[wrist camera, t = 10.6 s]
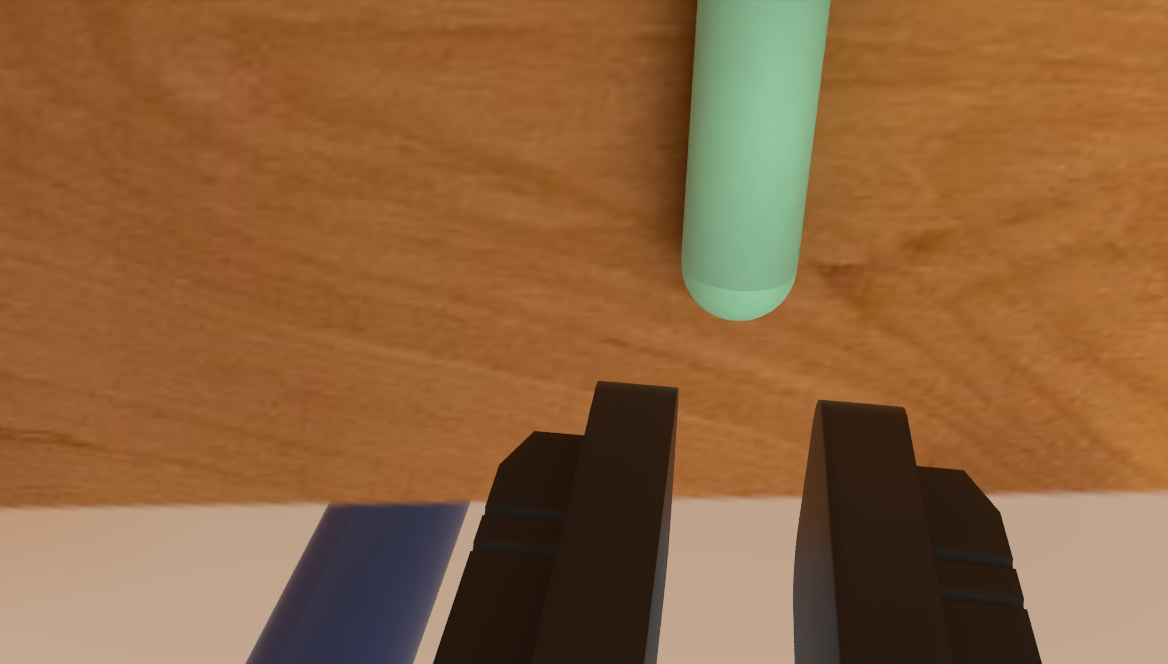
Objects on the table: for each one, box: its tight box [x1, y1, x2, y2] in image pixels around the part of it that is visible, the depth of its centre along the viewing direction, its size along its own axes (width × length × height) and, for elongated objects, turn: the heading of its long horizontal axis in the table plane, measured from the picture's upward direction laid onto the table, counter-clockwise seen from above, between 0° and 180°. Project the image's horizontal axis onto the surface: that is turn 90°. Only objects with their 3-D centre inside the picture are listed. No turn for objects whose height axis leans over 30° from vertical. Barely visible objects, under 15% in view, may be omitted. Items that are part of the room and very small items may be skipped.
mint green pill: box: [681, 0, 831, 321], centre depth 19 cm, size 9×2×2 cm, turn 179°
